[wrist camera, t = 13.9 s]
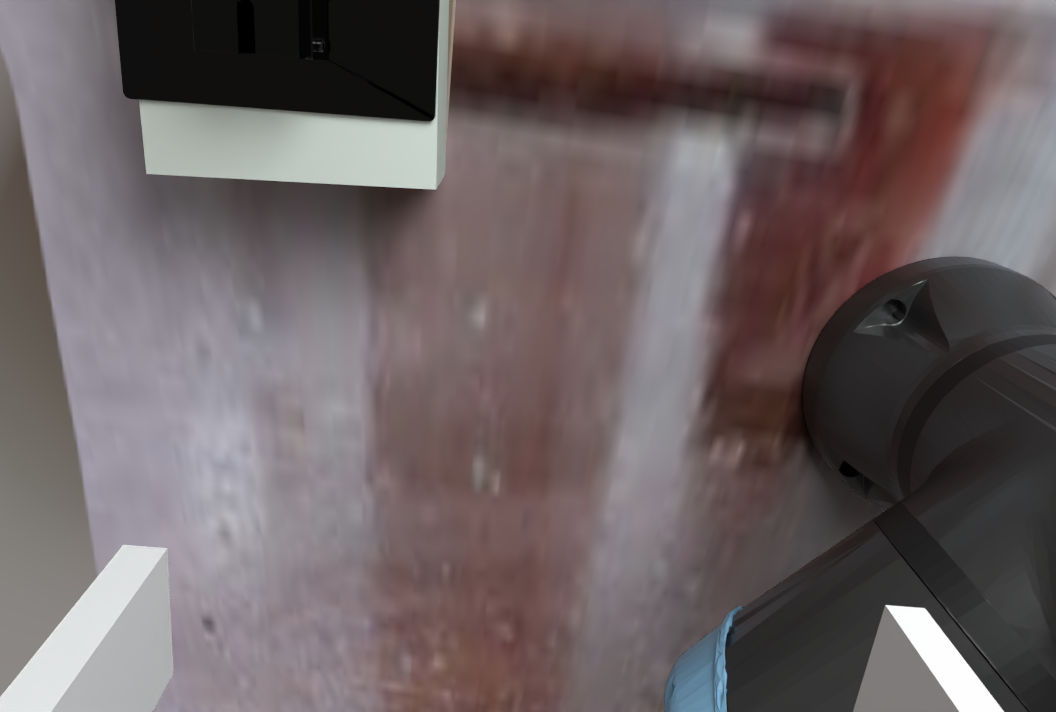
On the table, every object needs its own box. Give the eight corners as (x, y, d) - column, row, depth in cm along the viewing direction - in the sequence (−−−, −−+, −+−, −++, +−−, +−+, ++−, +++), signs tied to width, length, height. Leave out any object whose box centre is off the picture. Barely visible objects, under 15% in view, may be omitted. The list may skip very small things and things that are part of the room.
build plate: (127, 97, 33) (68, 103, 28) (109, -107, 30) (42, -135, 26) (435, 122, 33) (424, 131, 29) (443, -77, 31) (432, -100, 26)
